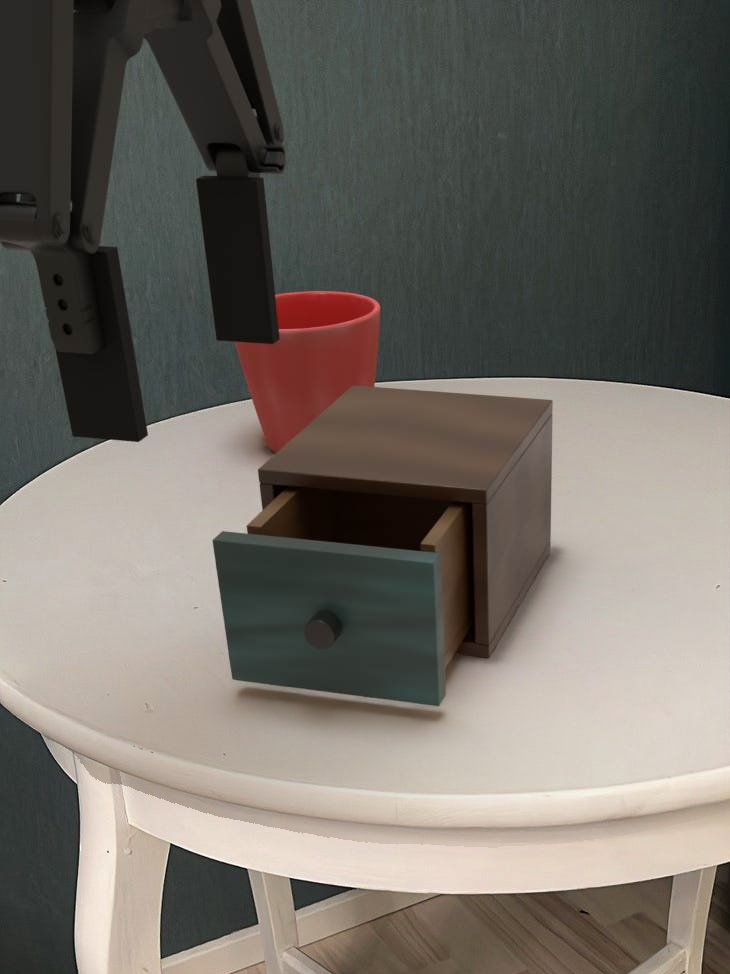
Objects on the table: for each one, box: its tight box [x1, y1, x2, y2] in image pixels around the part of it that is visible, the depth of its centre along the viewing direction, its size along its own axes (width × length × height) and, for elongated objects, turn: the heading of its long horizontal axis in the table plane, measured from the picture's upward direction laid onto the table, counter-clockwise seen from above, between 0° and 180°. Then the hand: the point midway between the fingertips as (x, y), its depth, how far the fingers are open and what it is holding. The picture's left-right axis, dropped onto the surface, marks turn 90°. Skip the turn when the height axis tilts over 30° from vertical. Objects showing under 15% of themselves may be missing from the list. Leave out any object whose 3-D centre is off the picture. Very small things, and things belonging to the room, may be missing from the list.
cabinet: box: [257, 385, 554, 658], centre depth 78 cm, size 15×13×10 cm
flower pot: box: [234, 290, 381, 454], centre depth 100 cm, size 11×11×10 cm
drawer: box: [212, 486, 475, 707], centre depth 72 cm, size 15×11×8 cm
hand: (185, 384), depth 55 cm, fingers open, 12 cm apart
